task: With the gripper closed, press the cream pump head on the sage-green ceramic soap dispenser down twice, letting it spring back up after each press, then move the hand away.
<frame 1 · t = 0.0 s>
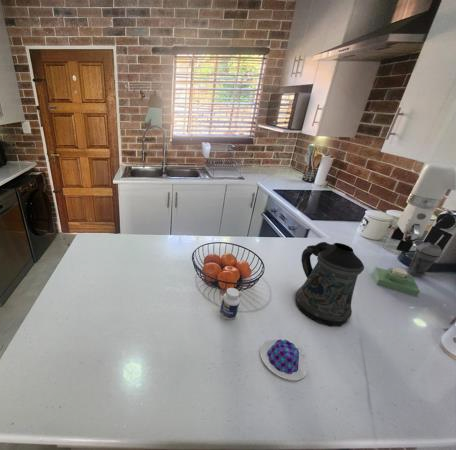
hand: (398, 244, 90), 20 cm above the countertop, tool pointing down, fingers open, 9 cm apart
beverage cup: (413, 274, 107), on the countertop
beer stein: (314, 306, 88), on the countertop
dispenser: (391, 286, 99), on the countertop
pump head: (399, 272, 97), point 7 cm above the countertop, slide at 0.1 cm
pudding: (282, 360, 69), on the countertop
pill bottle: (227, 314, 83), on the countertop
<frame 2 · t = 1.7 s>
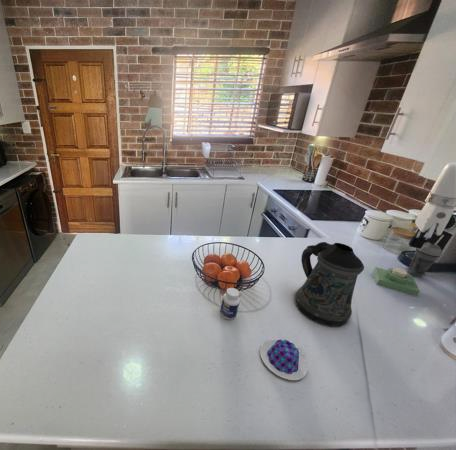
hand: (414, 246, 91), 19 cm above the countertop, tool pointing down, fingers closed
nothing on the countertop moved.
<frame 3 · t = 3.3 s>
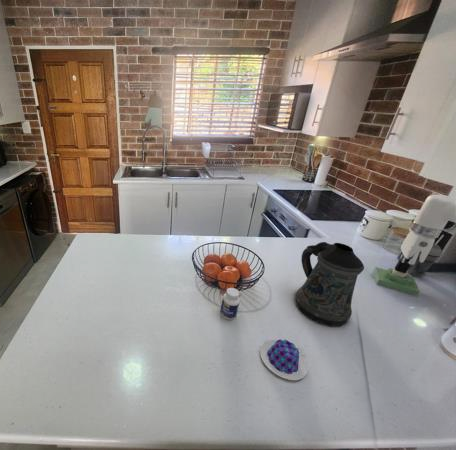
hand: (399, 270, 96), 8 cm above the countertop, tool pointing down, fingers closed
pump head: (399, 273, 97), point 7 cm above the countertop, slide at 0.0 cm, touching gripper
everything else where it was.
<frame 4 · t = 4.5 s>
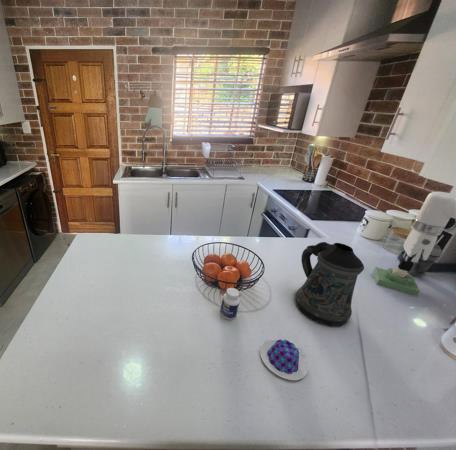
hand: (403, 269, 95), 9 cm above the countertop, tool pointing down, fingers closed
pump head: (399, 272, 97), point 7 cm above the countertop, slide at 0.1 cm
everything else where it was.
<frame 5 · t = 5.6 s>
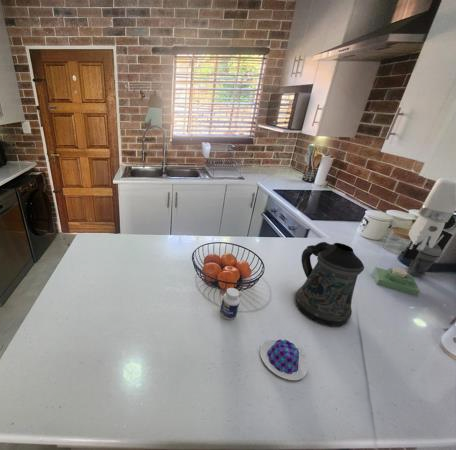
hand: (407, 257, 93), 14 cm above the countertop, tool pointing down, fingers closed
nothing on the countertop moved.
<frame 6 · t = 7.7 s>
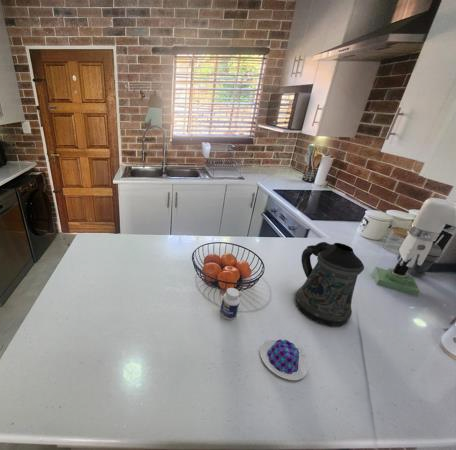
hand: (398, 273, 97), 6 cm above the countertop, tool pointing down, fingers closed
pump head: (397, 275, 97), point 5 cm above the countertop, slide at -1.3 cm, touching gripper
everything else where it was.
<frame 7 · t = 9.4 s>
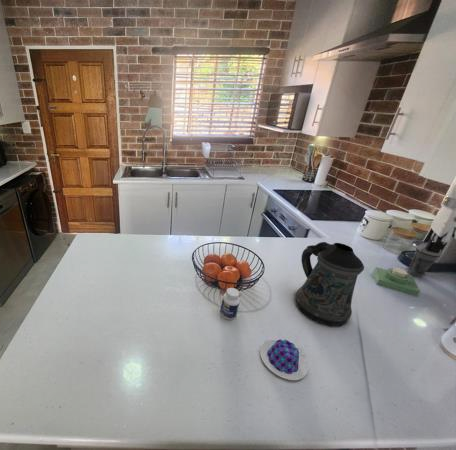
hand: (431, 251, 89), 18 cm above the countertop, tool pointing down, fingers closed
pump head: (399, 272, 97), point 7 cm above the countertop, slide at 0.1 cm
everything else where it was.
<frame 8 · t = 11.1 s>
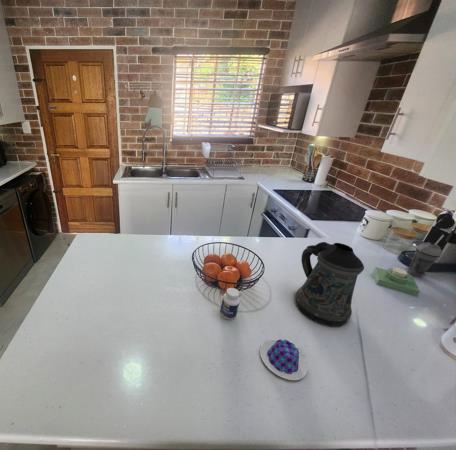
hand: (452, 242, 85), 23 cm above the countertop, tool pointing down, fingers closed
nothing on the countertop moved.
at the end: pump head pushed in 1.3 cm at the most during the clip, back to where it started at the end; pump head slide at 0.1 cm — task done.
